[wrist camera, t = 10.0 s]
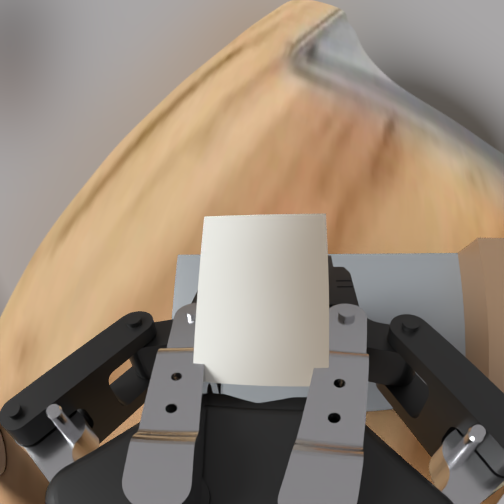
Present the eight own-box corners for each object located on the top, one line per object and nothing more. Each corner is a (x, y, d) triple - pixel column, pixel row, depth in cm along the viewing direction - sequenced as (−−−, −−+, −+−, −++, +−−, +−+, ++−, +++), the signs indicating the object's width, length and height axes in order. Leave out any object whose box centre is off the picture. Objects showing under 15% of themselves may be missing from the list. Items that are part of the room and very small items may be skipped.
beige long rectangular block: (253, 367, 16) (192, 380, 7) (256, 294, 17) (204, 216, 8) (310, 368, 16) (328, 385, 6) (311, 294, 17) (325, 213, 7)
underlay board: (172, 401, 19) (147, 409, 15) (181, 258, 22) (161, 239, 18) (485, 391, 16) (515, 393, 12) (478, 256, 19) (505, 238, 15)
